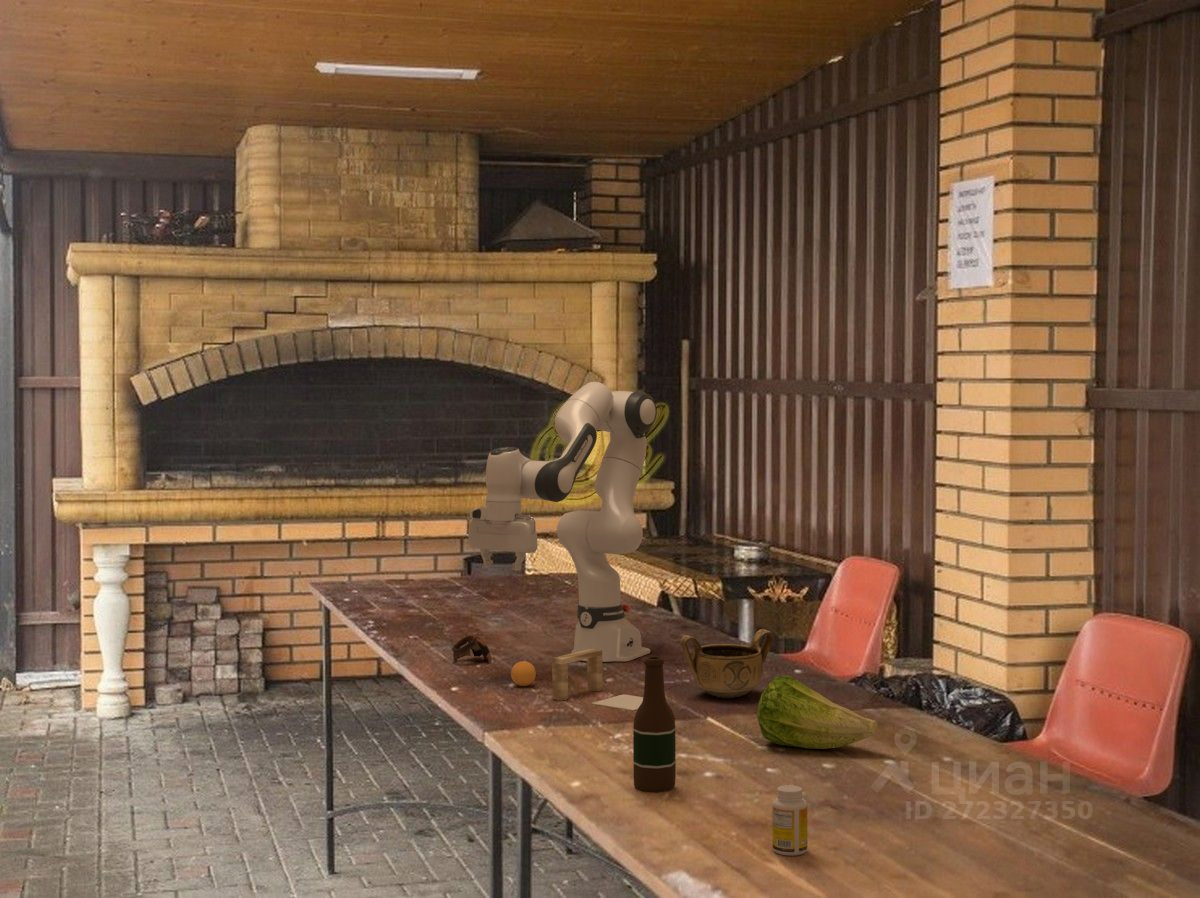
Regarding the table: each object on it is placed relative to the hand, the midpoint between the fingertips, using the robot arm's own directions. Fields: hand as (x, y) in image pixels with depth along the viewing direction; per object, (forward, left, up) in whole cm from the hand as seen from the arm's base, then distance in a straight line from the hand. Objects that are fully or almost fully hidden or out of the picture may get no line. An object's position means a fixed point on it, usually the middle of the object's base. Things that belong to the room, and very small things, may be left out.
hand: (502, 568), depth 390 cm
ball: (+3, +9, -25) cm, 26 cm away
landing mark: (+3, +41, -28) cm, 50 cm away
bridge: (+3, +26, -28) cm, 38 cm away
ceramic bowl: (-17, +55, -28) cm, 64 cm away
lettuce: (+14, +98, -28) cm, 103 cm away
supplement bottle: (+76, +129, -28) cm, 152 cm away
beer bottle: (+58, +89, -28) cm, 110 cm away
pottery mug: (-13, -22, -28) cm, 38 cm away
